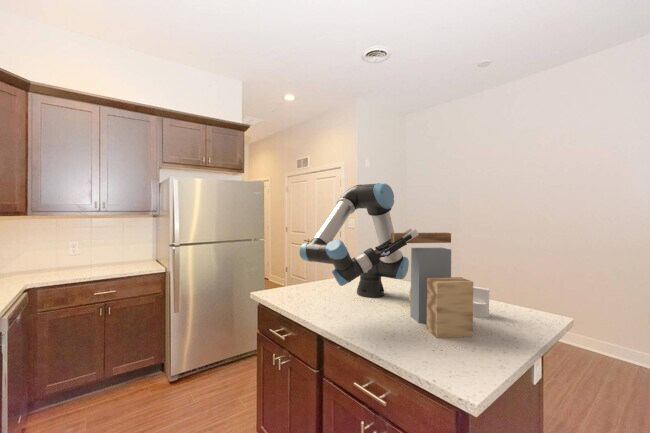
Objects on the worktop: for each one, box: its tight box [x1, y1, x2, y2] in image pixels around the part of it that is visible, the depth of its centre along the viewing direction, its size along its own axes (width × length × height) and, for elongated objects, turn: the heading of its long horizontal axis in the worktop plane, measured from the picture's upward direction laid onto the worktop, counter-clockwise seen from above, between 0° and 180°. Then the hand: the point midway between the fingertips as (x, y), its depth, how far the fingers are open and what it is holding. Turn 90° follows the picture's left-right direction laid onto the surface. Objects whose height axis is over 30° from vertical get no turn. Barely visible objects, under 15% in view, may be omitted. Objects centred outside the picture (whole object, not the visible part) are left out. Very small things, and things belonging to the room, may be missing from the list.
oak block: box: [426, 276, 474, 339], centre depth 114 cm, size 8×14×20 cm, turn 98°
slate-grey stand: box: [410, 247, 452, 324], centre depth 129 cm, size 8×14×30 cm, turn 98°
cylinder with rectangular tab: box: [473, 285, 490, 319], centre depth 135 cm, size 9×9×12 cm
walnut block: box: [391, 232, 452, 244], centre depth 128 cm, size 4×25×4 cm, turn 98°
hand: (414, 231), depth 128 cm, fingers closed on walnut block, 4 cm apart
